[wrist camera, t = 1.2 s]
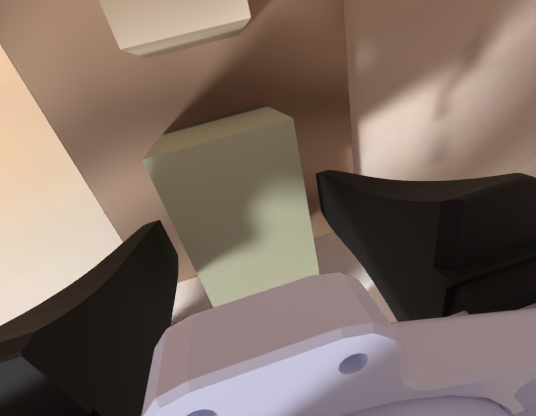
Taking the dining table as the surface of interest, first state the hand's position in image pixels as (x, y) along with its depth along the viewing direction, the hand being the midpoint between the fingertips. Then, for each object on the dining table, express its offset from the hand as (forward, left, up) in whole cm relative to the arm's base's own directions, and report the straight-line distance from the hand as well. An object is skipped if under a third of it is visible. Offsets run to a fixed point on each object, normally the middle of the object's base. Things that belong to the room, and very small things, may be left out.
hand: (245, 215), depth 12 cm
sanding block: (0, 0, -3) cm, 3 cm away
